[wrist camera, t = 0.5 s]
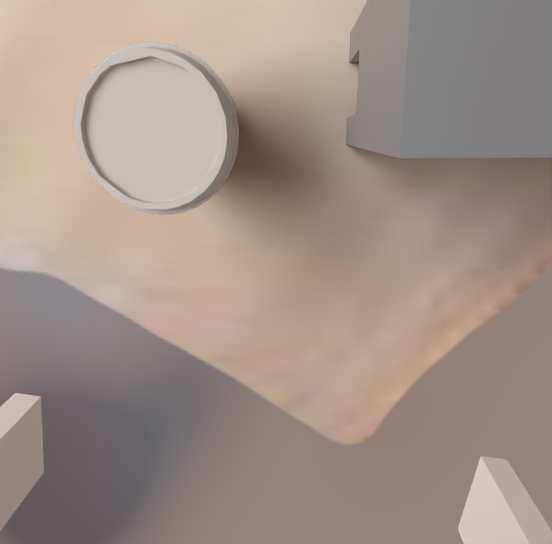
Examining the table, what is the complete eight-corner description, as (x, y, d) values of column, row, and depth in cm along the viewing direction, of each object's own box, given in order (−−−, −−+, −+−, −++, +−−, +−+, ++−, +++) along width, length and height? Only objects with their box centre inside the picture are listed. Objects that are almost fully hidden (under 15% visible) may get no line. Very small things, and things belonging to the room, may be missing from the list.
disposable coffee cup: (270, 91, 36) (257, 72, 24) (235, 207, 38) (209, 239, 27) (153, 50, 35) (82, 11, 24) (126, 171, 38) (51, 187, 26)
